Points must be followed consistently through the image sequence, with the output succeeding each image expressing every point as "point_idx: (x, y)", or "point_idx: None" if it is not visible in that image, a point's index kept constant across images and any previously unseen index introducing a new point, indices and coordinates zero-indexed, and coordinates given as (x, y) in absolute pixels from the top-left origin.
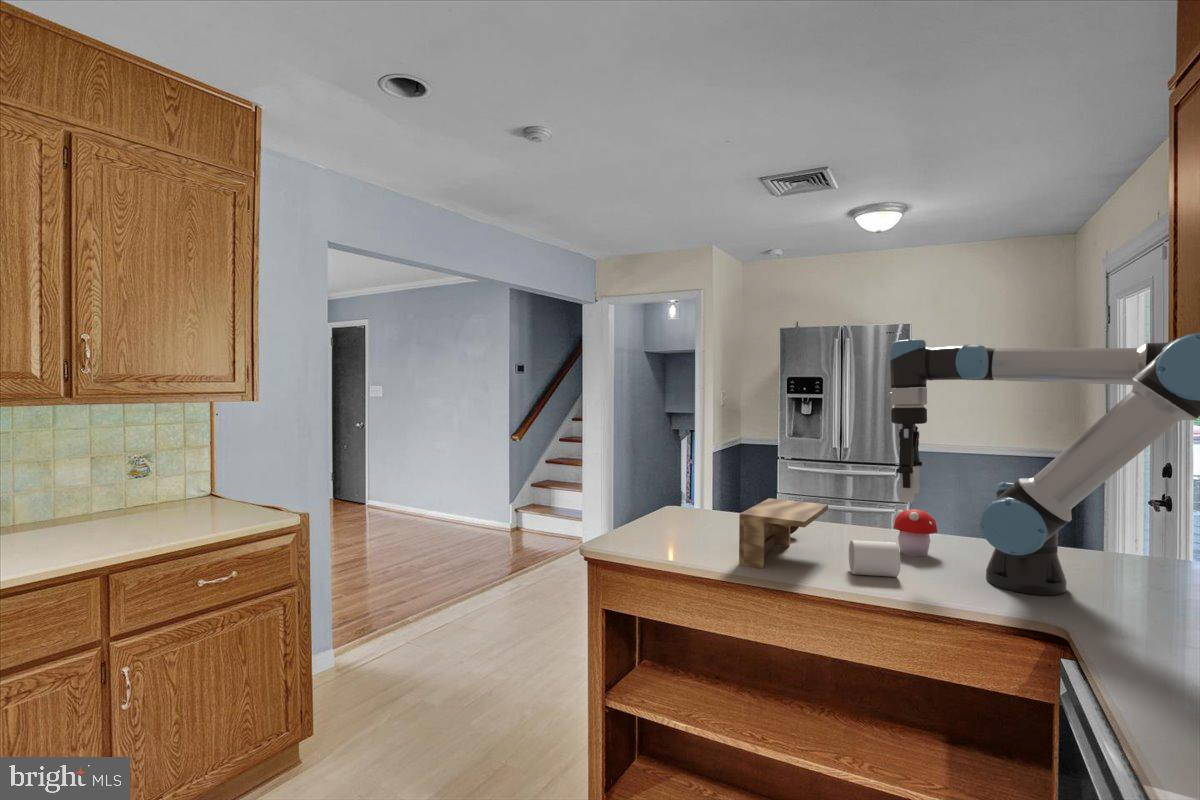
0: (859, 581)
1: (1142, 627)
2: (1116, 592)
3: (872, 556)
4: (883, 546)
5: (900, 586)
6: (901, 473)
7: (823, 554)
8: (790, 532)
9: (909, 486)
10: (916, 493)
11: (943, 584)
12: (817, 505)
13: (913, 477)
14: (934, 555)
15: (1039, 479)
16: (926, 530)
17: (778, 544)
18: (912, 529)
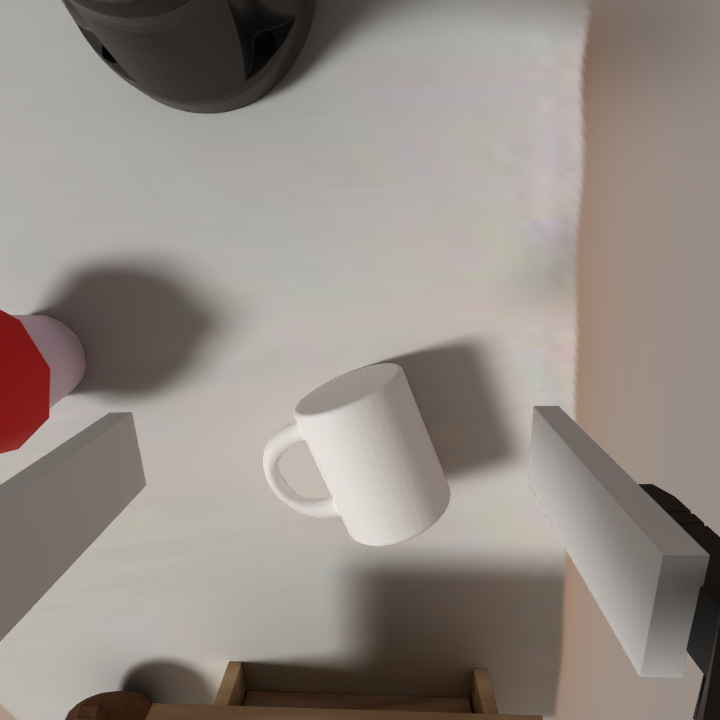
0: (466, 449)
1: None
2: None
3: (431, 455)
4: (392, 441)
5: (452, 345)
6: (685, 661)
7: (250, 575)
8: (141, 698)
9: (671, 496)
10: (133, 429)
11: (359, 235)
12: None
13: (662, 522)
14: (27, 293)
15: None
16: (11, 332)
17: (242, 690)
18: (36, 383)
